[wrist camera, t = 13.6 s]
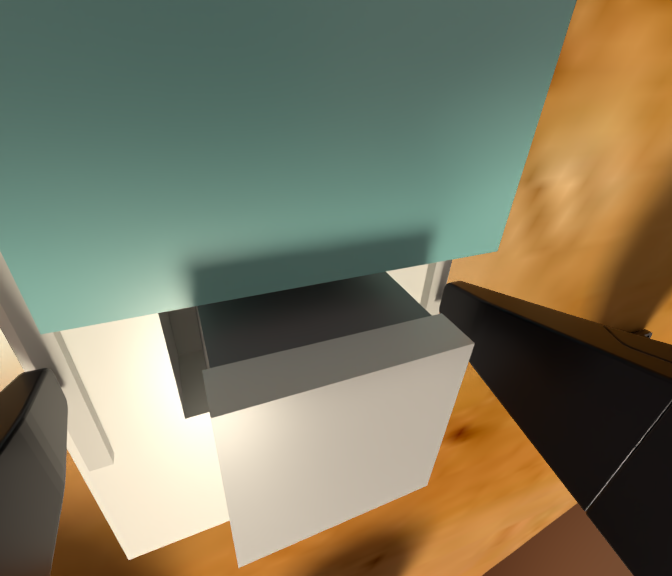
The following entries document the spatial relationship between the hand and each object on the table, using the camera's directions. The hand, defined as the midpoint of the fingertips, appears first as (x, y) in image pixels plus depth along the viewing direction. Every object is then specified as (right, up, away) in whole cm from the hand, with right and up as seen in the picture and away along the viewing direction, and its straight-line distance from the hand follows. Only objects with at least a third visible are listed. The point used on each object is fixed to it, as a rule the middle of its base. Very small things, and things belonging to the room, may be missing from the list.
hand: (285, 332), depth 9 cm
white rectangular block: (-1, +2, +2) cm, 3 cm away
